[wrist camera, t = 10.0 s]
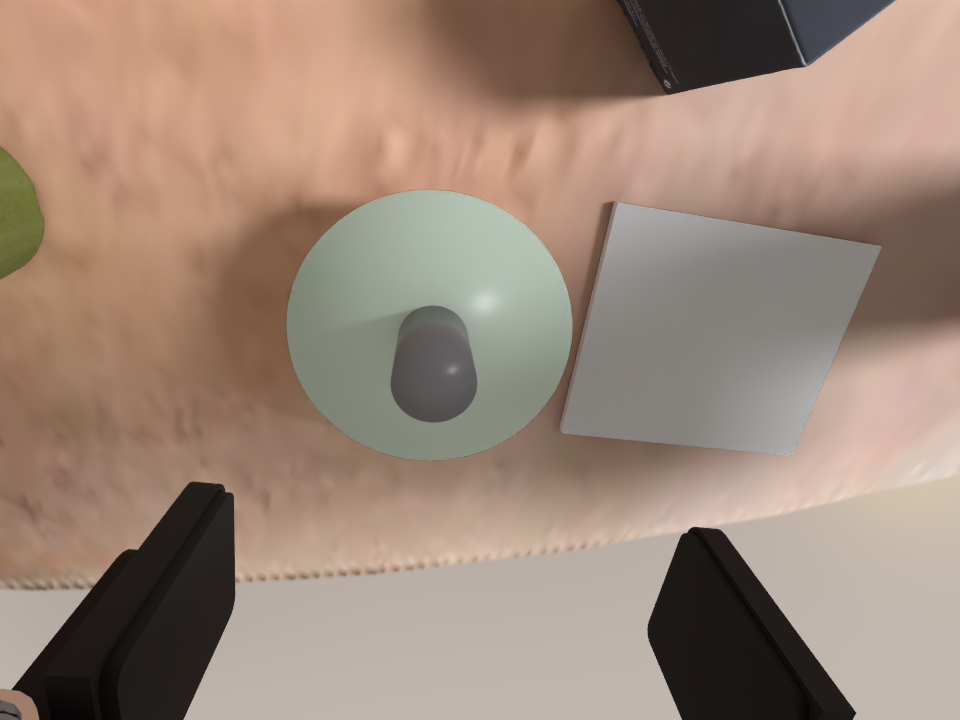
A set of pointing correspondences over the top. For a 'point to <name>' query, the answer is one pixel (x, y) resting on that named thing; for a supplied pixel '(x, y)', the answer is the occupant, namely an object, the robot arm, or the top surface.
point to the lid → (429, 325)
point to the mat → (710, 331)
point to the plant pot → (17, 216)
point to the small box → (739, 36)
